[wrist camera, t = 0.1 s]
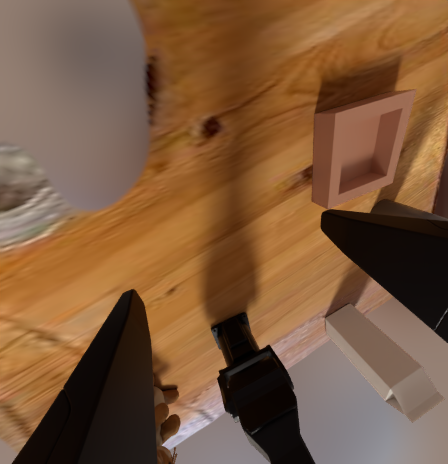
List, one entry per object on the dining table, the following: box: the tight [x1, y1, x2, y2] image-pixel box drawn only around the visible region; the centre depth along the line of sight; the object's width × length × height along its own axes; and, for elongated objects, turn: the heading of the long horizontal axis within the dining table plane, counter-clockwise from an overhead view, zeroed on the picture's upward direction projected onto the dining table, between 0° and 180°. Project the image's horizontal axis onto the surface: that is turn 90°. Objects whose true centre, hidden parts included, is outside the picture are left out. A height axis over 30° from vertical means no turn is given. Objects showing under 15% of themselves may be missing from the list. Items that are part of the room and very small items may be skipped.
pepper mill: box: [370, 199, 448, 221], centre depth 30 cm, size 5×5×13 cm
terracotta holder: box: [312, 89, 416, 209], centre depth 26 cm, size 11×11×3 cm
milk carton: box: [325, 304, 445, 423], centre depth 41 cm, size 7×7×19 cm
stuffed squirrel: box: [153, 375, 180, 464], centre depth 31 cm, size 10×14×13 cm
